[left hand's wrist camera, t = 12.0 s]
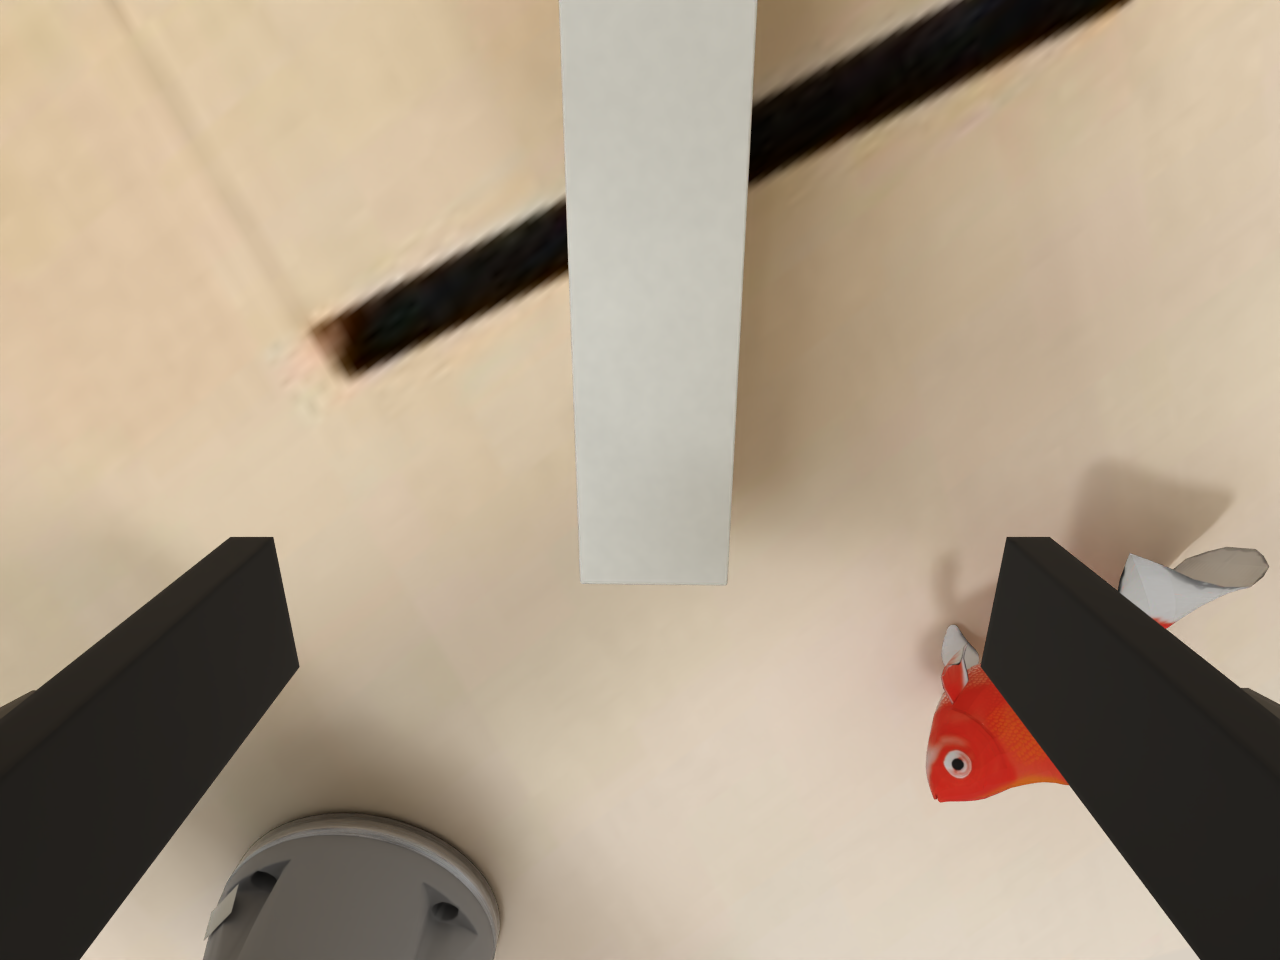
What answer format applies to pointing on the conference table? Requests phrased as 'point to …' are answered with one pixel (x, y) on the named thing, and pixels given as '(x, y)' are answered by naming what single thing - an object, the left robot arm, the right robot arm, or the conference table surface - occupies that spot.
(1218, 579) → the fish
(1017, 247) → the conference table surface
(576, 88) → the plank
